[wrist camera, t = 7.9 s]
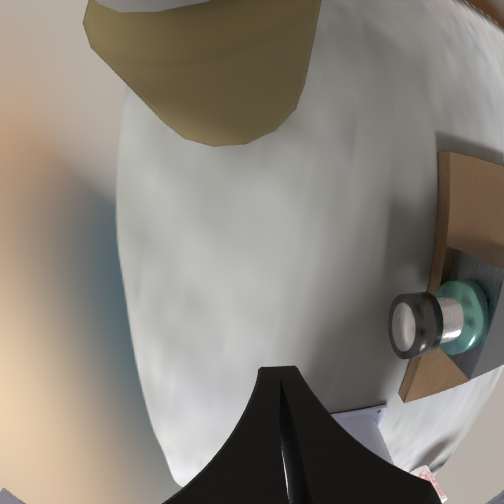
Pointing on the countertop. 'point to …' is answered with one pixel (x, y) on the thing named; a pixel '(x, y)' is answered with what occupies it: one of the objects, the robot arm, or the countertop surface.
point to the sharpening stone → (465, 268)
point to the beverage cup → (429, 479)
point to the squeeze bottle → (209, 60)
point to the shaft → (439, 320)
